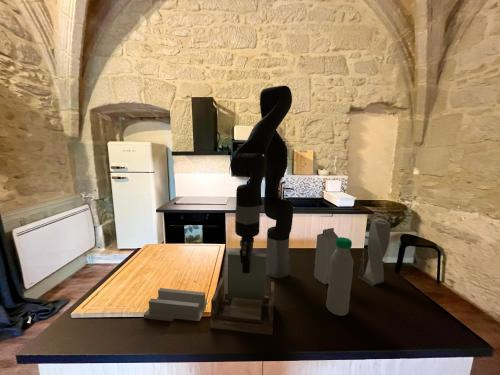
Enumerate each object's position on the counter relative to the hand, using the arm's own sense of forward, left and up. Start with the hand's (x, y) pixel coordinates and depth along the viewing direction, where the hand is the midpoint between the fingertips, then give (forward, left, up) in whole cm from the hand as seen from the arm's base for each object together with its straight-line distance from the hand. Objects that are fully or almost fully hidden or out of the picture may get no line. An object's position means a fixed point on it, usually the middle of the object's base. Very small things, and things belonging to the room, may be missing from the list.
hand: (246, 270), depth 70 cm
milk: (-37, +2, -15) cm, 40 cm away
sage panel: (0, 0, -12) cm, 12 cm away
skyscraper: (-54, +13, -15) cm, 58 cm away
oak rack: (+2, +2, -14) cm, 15 cm away
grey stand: (+19, -12, -14) cm, 26 cm away
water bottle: (-26, +16, -15) cm, 34 cm away
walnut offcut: (+4, +5, -13) cm, 14 cm away
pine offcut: (+3, +5, -10) cm, 12 cm away
